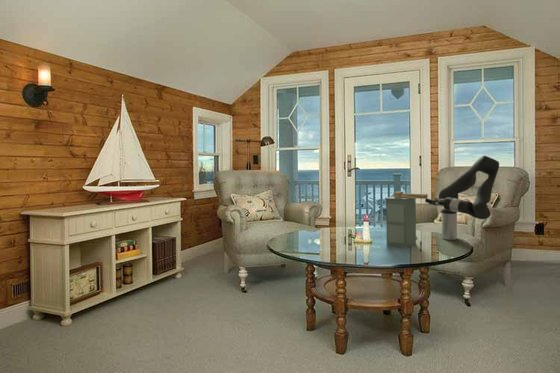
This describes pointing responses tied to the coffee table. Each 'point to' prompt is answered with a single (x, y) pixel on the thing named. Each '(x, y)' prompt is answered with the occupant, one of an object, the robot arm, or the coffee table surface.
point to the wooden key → (410, 195)
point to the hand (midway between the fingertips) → (430, 200)
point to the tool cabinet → (401, 221)
